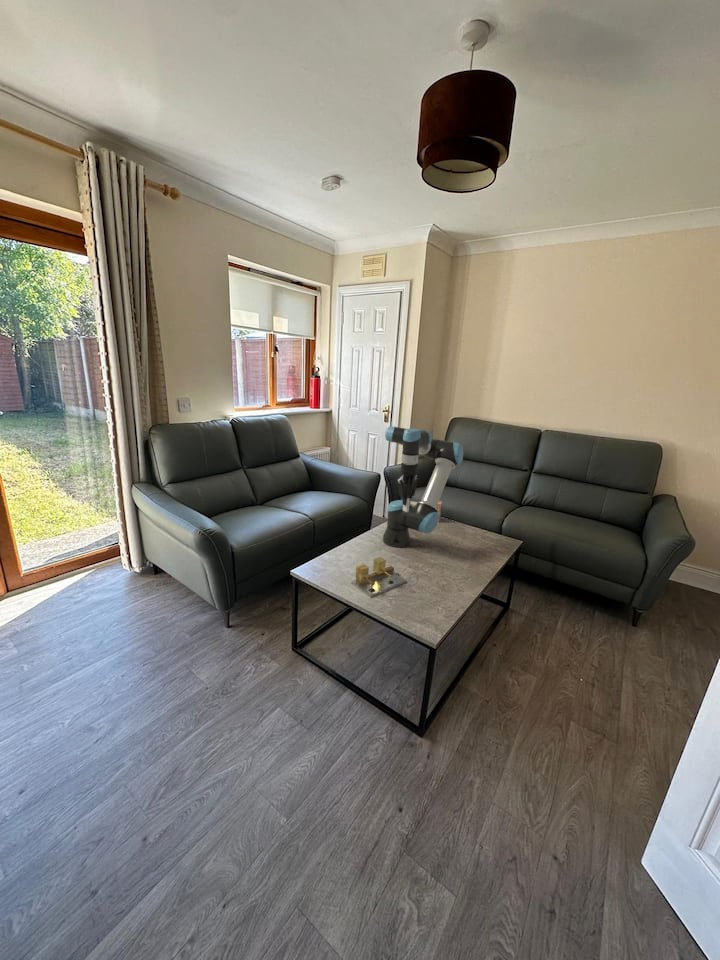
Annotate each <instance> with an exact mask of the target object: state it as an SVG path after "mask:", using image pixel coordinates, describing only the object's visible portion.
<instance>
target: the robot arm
mask: <svg viewBox="0 0 720 960" xmlns="http://www.w3.org/2000/svg"><path fill="white" fill-rule="evenodd" d="M384 435H385V437H384V438H385V440H386V441H387V442H390V443H395V444H398V445H400V446H402V451H401V463H400V470H401V474H400V477H399V478H397V479H396V482H397V486H398V495H399V498H401V499H397V500H393V501H391V502H390V503H389V504H388V507H387V519H386V520H387V521H386V522H387V524H386V529H385V531H384V534H383V535H382V536H383V537H382V542H383V543H384V544H385V545H387V546H388V547H393V548H404V547H405V548H406V547H408V546H409V545H410V544H411V535H410V531H409V530H410V529H411V530H414V531H417V532H420V533H424V534H430V533H432V532H433V531H435V529H436V527H437V525H438V524H439V522H438V520H439V515H438V513H437V512H438V511H437V509H436V507H437V504H438V502H439V501H440V499H441V496H442V494H443V492H444V489H445V486H446V483H447V481H448V479H449V477H450V474H451V471H452V470H454V469H456V467H457V465H458V466H459V465H461V464H462V463H463V459H464V446H463V445H462V443H461V442H460V443H459V442H455V441H449V440H444V439H443V440H442V439H435V438H433V434H432V433H431V432H430V430H427V429H421V430H420V429H417V428H404V427H398V426H388V427H387V428H386V431H385V433H384ZM419 455H421V456H423V457H425V458H427V459H430V460H434V462H435V464H436V465H435V467H434V469H433V471H432V474H431V477H430V478H429V481H428V483H427V486H426V488H425V491H424V493H423V495H422V497H421V501H417V502H418V503H417V504H416V506H415V507H413V506H411V503H410V501H411V499H413V497H414V496H415V493H416V491H417V486H418V482H419V479H420V478H421V477H420V475H417V472H418V467H419V464H418V462H419Z"/></svg>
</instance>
